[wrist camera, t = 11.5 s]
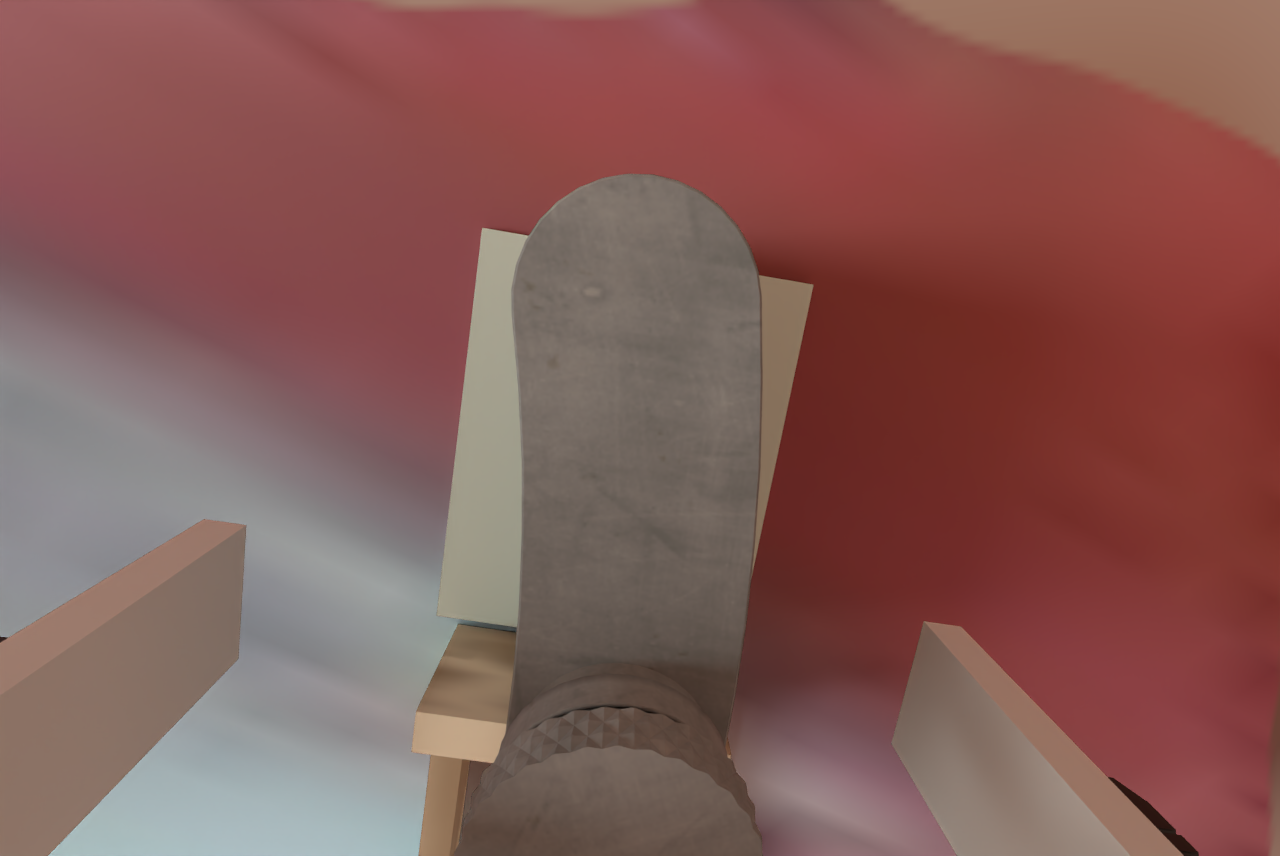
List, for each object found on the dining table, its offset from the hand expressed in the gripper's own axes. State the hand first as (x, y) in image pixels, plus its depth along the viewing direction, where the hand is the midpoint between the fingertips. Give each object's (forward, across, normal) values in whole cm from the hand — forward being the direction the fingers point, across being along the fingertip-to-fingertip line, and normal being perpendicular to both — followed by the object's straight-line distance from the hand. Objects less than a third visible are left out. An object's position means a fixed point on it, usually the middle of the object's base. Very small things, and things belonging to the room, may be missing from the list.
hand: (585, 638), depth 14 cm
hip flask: (+14, +1, 0) cm, 14 cm away
